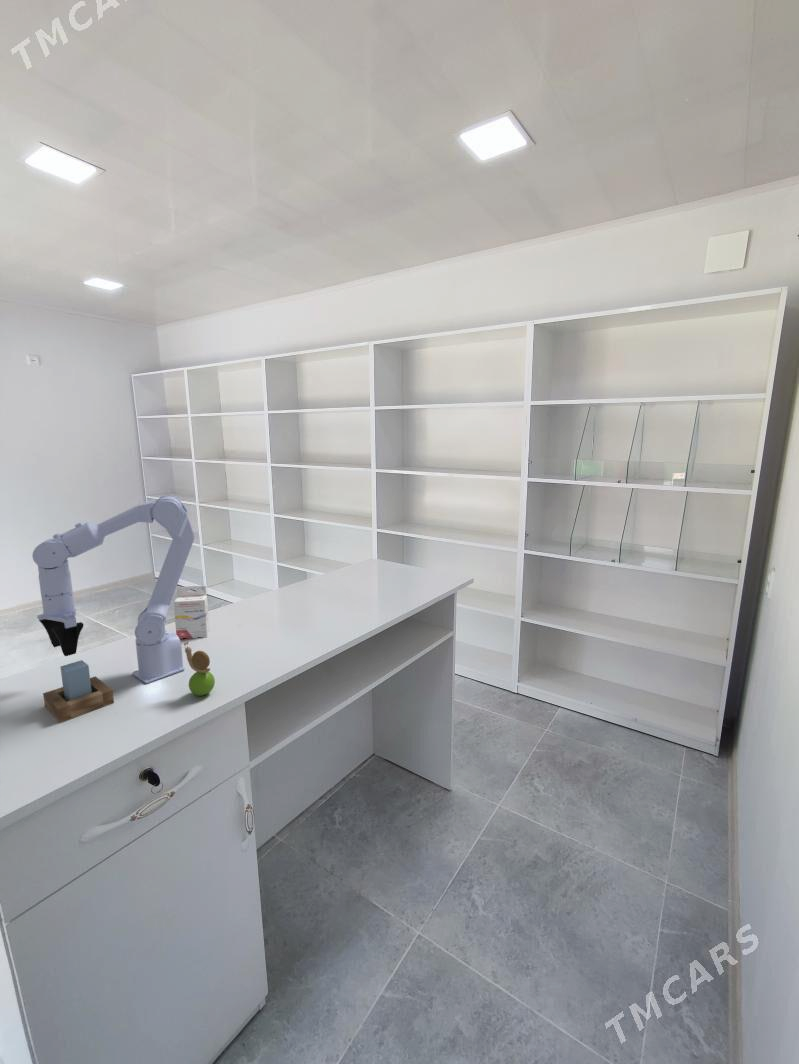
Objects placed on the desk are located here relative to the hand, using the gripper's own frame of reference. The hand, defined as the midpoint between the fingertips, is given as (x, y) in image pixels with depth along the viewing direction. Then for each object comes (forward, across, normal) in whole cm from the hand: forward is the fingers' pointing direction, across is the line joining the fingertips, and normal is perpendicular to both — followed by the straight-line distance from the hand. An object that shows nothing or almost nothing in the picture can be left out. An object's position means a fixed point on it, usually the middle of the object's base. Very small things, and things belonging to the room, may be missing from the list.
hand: (64, 650), depth 108 cm
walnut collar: (+9, +10, -1) cm, 14 cm away
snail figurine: (+10, +26, +18) cm, 33 cm away
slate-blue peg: (+9, +10, -1) cm, 14 cm away
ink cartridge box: (+10, -8, +34) cm, 36 cm away
